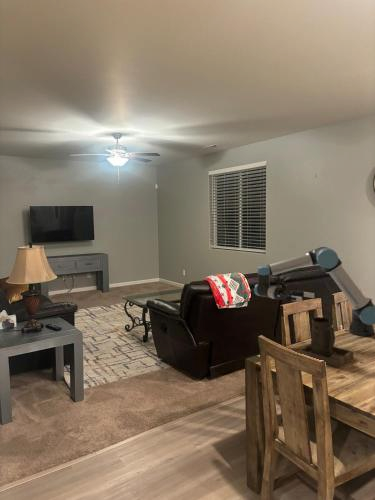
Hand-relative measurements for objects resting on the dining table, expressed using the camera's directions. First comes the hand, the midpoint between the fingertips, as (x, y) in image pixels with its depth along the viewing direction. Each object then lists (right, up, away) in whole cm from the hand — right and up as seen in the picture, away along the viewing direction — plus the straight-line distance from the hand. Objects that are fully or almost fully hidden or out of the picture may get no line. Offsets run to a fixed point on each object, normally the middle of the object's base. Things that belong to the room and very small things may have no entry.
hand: (308, 297), depth 212 cm
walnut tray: (+6, -31, -11) cm, 33 cm away
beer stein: (+5, -30, -11) cm, 33 cm away
